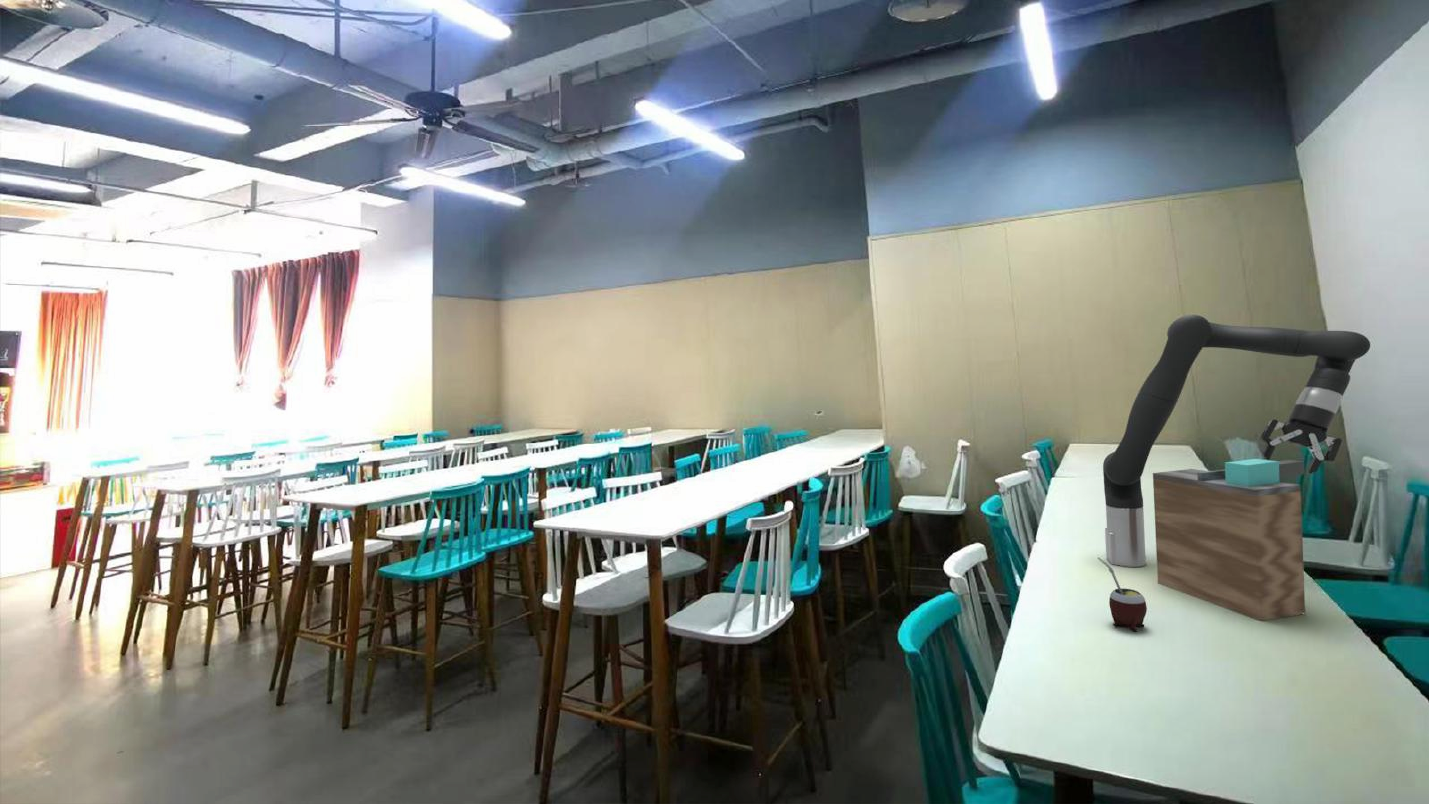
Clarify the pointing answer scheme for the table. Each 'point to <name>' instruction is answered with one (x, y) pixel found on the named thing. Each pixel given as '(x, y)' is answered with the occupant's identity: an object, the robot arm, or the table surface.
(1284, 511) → the cabinet
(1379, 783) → the table surface
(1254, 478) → the block
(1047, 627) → the table surface
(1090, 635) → the table surface
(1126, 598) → the mate gourd
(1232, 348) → the robot arm
